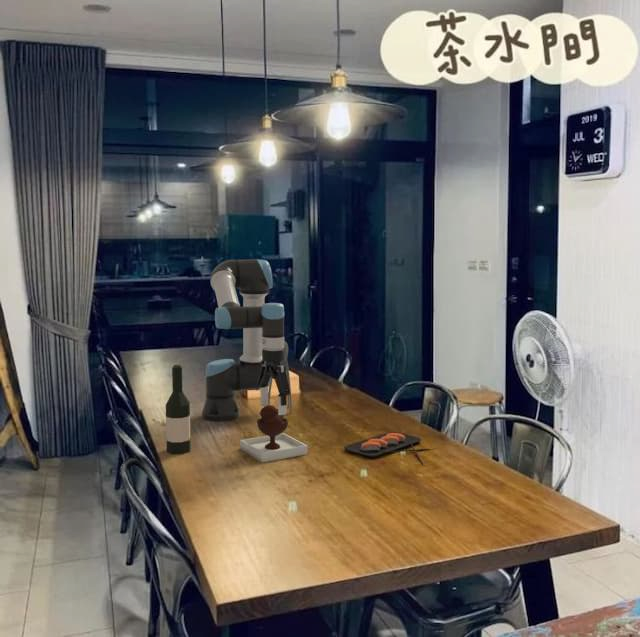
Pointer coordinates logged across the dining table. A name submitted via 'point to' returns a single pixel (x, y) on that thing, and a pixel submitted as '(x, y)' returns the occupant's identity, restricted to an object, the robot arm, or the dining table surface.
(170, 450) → the wine bottle
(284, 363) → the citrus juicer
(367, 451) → the sushi plate
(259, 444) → the serving tray
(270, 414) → the ice cream bowl
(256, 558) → the dining table surface
